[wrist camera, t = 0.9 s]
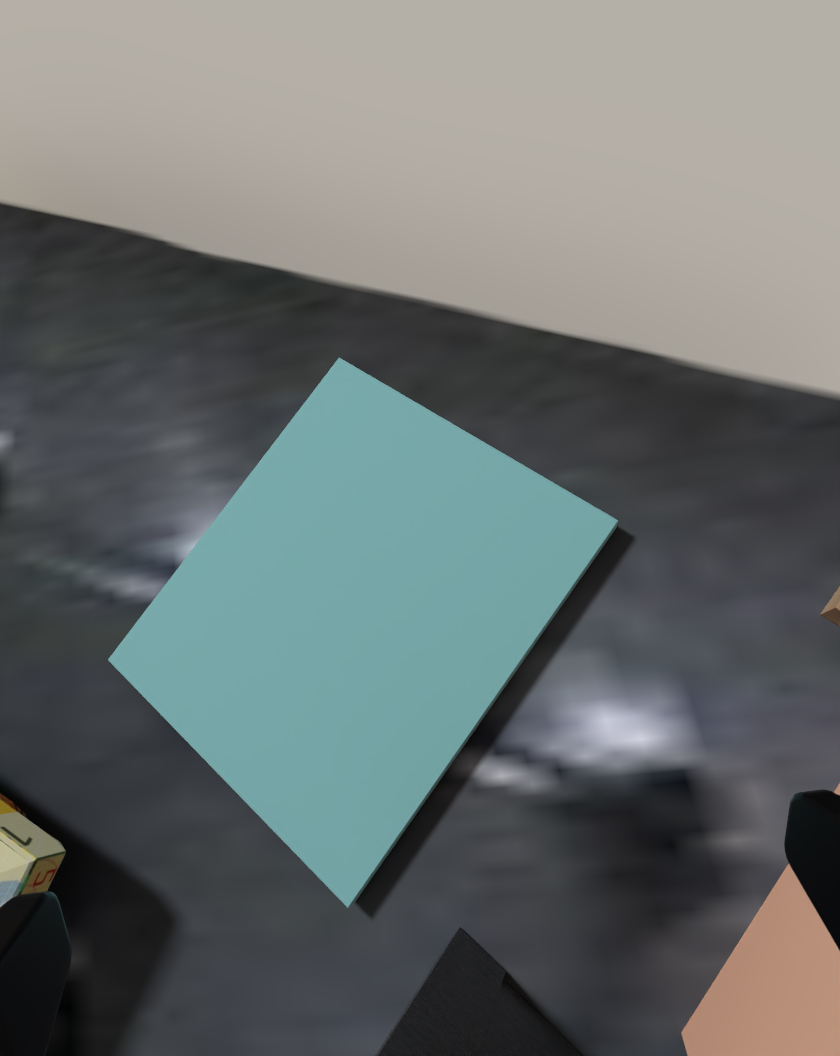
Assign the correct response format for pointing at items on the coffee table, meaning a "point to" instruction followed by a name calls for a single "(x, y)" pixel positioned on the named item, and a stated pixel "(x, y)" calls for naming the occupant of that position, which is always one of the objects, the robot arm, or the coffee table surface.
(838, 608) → the offcut stack
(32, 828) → the puzzle game
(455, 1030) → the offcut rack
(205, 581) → the teal mat
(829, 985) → the terracotta panel
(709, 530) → the coffee table surface
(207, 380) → the coffee table surface
